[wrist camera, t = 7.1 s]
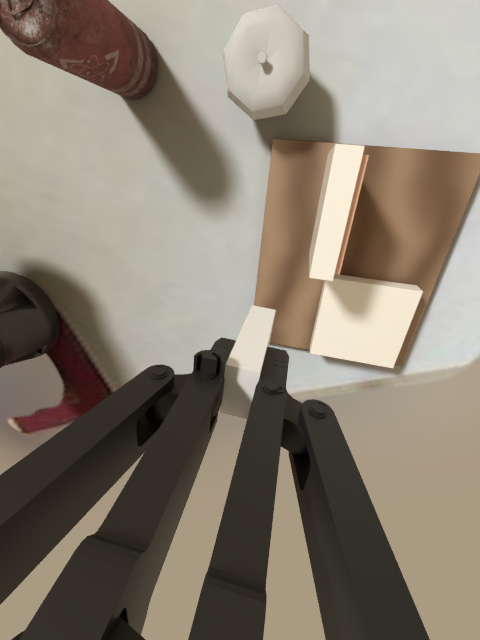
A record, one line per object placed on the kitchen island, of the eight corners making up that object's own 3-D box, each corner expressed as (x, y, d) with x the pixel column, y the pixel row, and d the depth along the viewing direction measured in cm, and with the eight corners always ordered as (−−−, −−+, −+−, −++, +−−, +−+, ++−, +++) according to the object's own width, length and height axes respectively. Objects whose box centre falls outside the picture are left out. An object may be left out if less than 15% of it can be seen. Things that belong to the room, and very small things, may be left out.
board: (252, 334, 42) (250, 339, 41) (274, 140, 31) (273, 138, 30) (398, 360, 39) (401, 366, 38) (479, 155, 28) (487, 154, 27)
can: (170, 51, 30) (72, -39, 18) (143, 113, 33) (44, 73, 21) (121, 8, 29) (-16, -116, 17) (98, 75, 32) (-33, 11, 20)
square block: (309, 353, 37) (392, 368, 35) (326, 277, 32) (423, 291, 31) (309, 343, 39) (388, 357, 38) (325, 271, 35) (415, 283, 33)
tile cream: (309, 252, 34) (309, 277, 25) (327, 154, 30) (335, 143, 21) (331, 255, 34) (338, 281, 25) (353, 156, 29) (372, 146, 20)
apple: (325, 41, 27) (329, 4, 21) (295, 137, 31) (292, 128, 25) (244, 19, 28) (227, -24, 22) (224, 116, 31) (205, 102, 26)
